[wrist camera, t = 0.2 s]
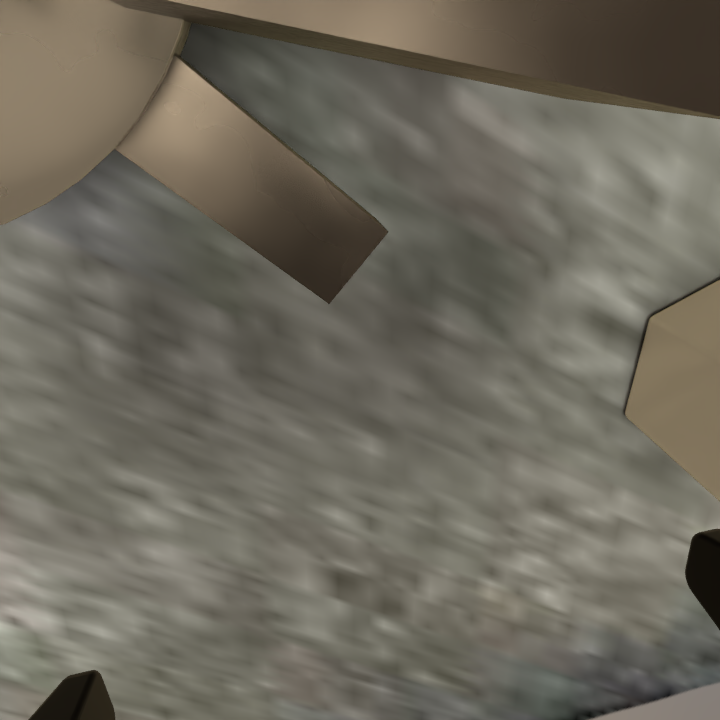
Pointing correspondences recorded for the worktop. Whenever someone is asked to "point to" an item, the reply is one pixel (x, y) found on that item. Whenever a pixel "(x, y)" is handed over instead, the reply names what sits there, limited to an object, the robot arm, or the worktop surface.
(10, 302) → the worktop surface
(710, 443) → the jar
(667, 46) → the cooker lid
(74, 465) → the worktop surface
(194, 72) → the cooker pot
